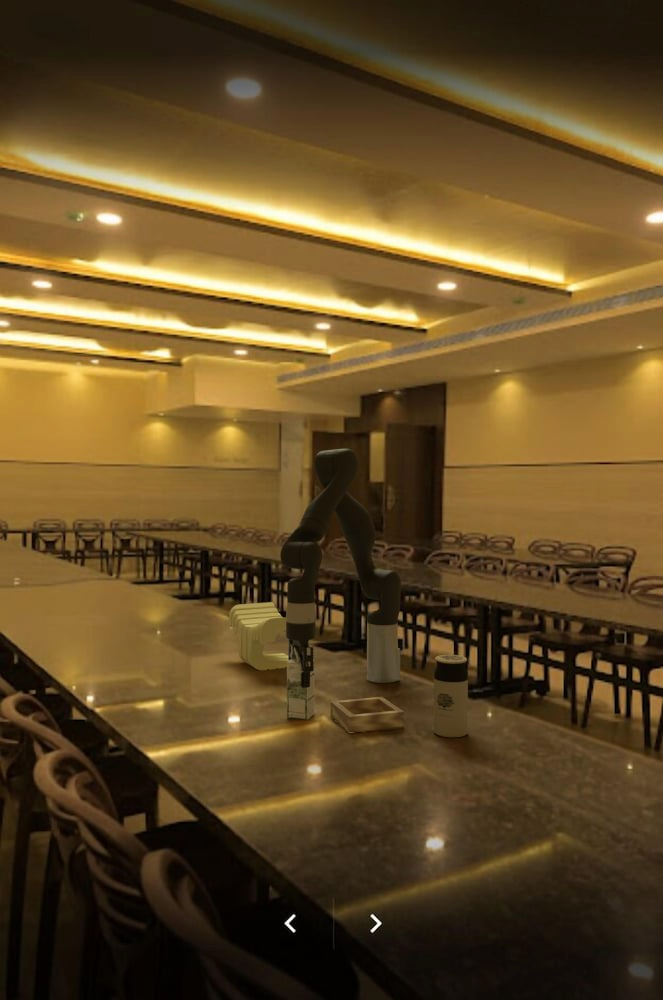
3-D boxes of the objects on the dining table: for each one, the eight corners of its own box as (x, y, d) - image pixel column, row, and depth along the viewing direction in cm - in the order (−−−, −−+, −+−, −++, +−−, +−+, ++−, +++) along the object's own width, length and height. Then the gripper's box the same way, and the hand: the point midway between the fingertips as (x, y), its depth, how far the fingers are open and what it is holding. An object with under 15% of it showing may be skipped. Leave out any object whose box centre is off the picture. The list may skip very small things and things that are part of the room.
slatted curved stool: (228, 657, 269) (228, 605, 269) (272, 653, 276) (272, 602, 276) (261, 677, 242) (261, 619, 242) (308, 672, 249) (309, 615, 249)
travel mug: (447, 725, 195) (447, 652, 195) (474, 733, 189) (474, 658, 189) (426, 733, 190) (427, 657, 189) (453, 740, 184) (454, 663, 183)
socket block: (381, 712, 206) (381, 696, 206) (403, 728, 193) (403, 711, 193) (330, 717, 202) (330, 701, 202) (349, 733, 189) (349, 717, 189)
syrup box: (315, 714, 204) (315, 658, 204) (307, 720, 199) (307, 663, 198) (294, 712, 206) (294, 656, 206) (286, 718, 201) (286, 661, 200)
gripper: (323, 623, 196) (323, 689, 197) (306, 614, 210) (306, 675, 210) (294, 625, 194) (294, 691, 194) (279, 615, 207) (278, 677, 208)
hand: (300, 683), depth 202 cm, fingers open, 8 cm apart
